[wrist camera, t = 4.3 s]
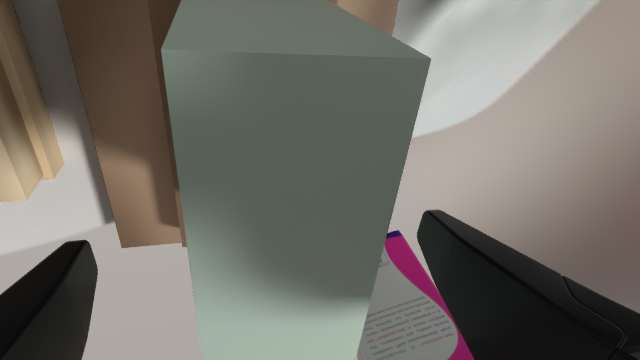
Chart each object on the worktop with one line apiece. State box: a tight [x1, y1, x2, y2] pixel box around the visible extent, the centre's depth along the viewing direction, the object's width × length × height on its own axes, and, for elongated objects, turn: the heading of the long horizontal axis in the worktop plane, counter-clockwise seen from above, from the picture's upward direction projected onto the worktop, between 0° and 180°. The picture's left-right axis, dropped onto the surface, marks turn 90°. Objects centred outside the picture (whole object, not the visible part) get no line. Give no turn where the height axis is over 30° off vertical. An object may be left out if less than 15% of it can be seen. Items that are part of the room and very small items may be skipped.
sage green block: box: [161, 0, 431, 360], centre depth 13 cm, size 4×10×12 cm, turn 174°
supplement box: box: [356, 231, 474, 360], centre depth 24 cm, size 6×6×12 cm
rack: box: [57, 0, 399, 248], centre depth 17 cm, size 14×18×2 cm
